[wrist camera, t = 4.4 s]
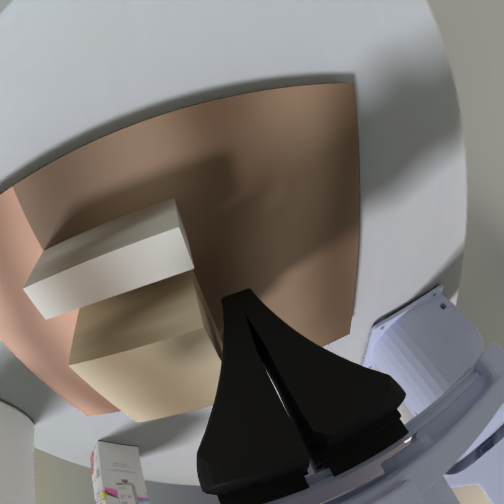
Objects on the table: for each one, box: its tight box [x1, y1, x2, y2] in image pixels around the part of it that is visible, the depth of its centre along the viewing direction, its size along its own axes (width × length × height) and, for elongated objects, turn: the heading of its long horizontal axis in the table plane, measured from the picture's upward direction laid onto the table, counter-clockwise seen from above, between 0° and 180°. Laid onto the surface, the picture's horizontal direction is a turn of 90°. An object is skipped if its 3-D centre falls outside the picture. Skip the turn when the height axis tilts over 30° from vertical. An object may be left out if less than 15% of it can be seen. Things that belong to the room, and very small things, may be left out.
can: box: [0, 400, 36, 504], centre depth 9 cm, size 6×6×12 cm
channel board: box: [0, 83, 360, 416], centre depth 11 cm, size 21×16×4 cm
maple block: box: [68, 269, 223, 423], centre depth 10 cm, size 5×5×4 cm
